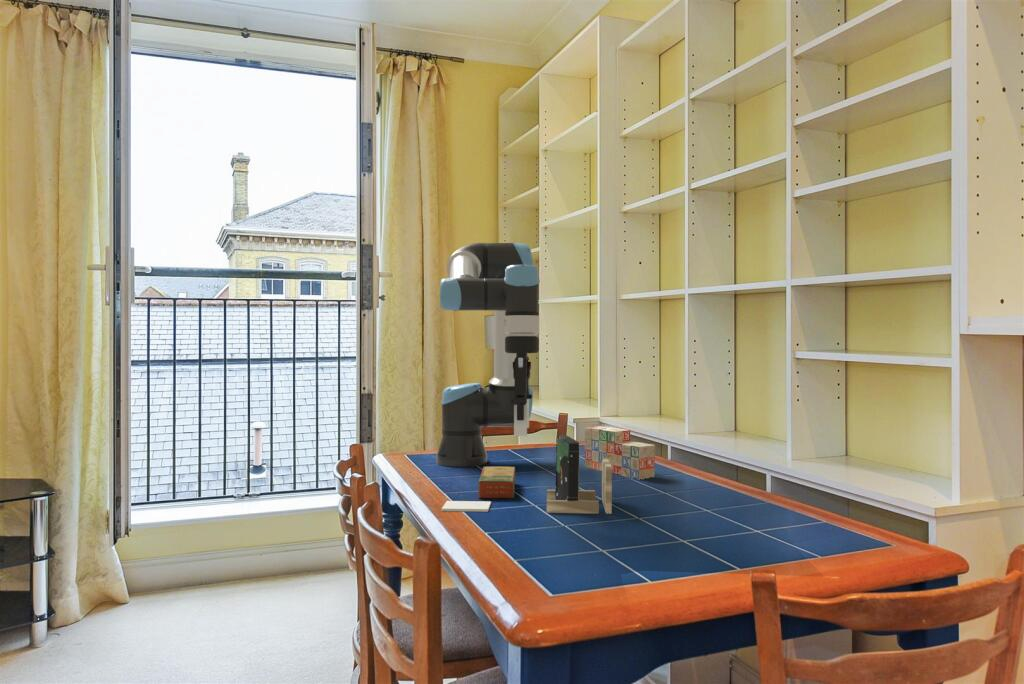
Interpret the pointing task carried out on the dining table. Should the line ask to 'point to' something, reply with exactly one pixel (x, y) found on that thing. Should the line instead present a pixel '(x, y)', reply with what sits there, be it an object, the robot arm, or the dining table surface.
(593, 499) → the wooden holder
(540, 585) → the dining table surface
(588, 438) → the stack of blocks
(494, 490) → the carton
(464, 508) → the pad
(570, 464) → the disk drive
